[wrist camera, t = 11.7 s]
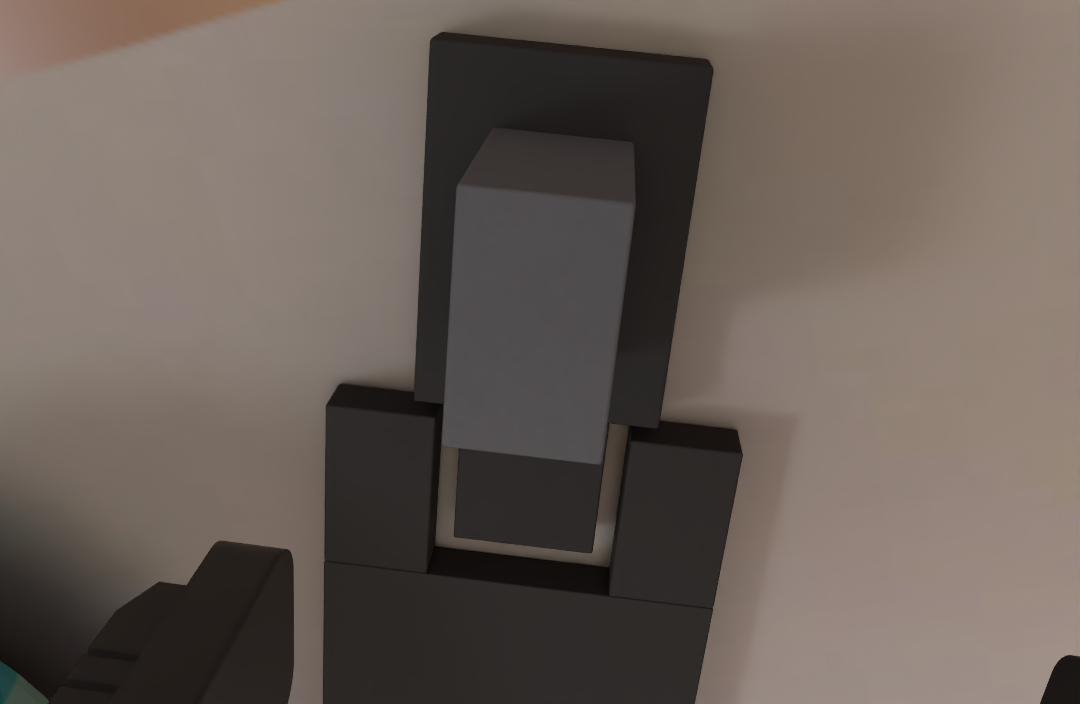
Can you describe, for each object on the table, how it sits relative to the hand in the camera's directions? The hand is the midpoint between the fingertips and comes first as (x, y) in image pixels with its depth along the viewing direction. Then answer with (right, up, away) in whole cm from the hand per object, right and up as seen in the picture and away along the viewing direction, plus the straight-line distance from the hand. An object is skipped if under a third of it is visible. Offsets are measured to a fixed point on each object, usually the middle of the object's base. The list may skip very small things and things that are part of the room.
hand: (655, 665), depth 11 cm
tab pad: (-1, +5, +18) cm, 19 cm away
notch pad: (-2, -5, +23) cm, 23 cm away
